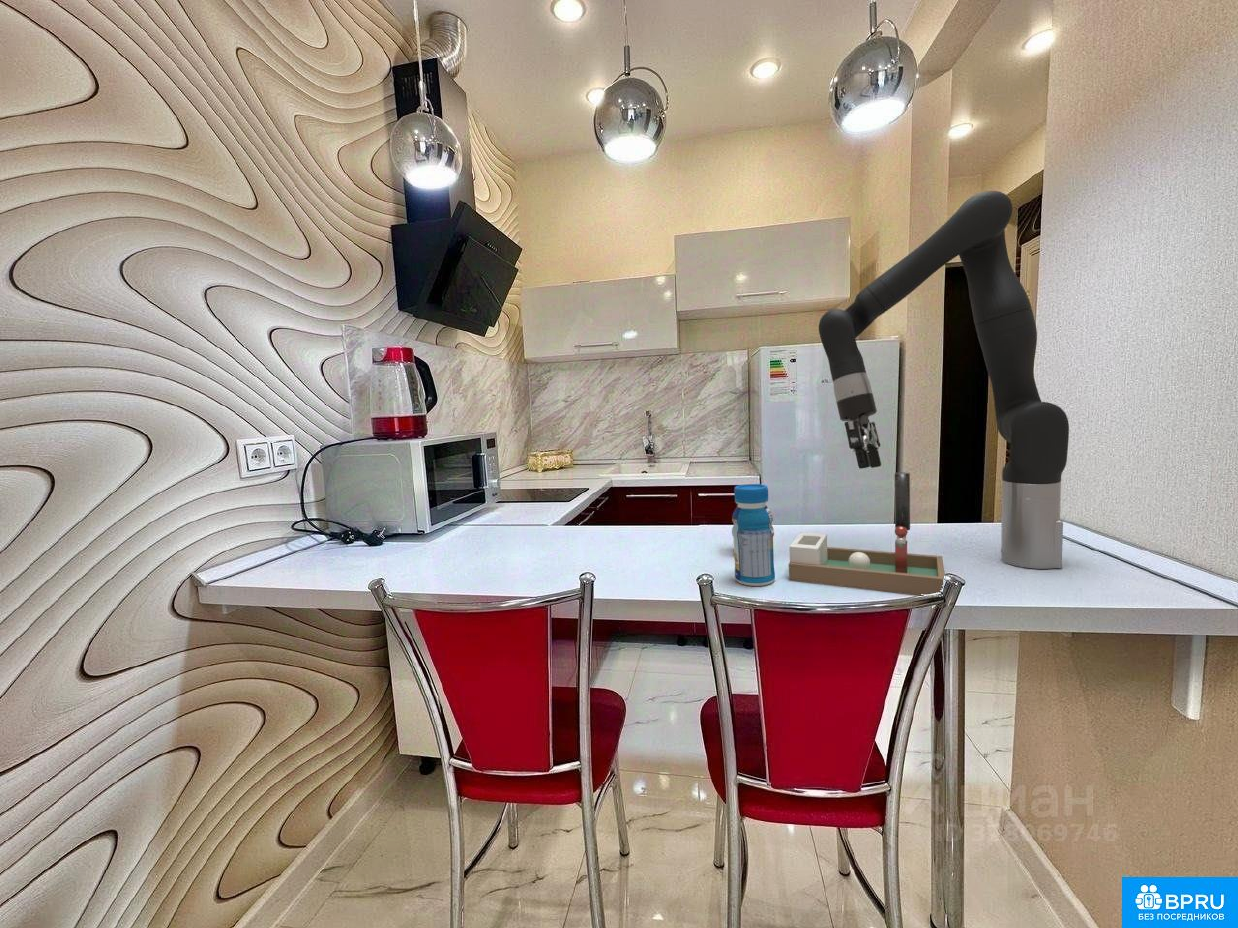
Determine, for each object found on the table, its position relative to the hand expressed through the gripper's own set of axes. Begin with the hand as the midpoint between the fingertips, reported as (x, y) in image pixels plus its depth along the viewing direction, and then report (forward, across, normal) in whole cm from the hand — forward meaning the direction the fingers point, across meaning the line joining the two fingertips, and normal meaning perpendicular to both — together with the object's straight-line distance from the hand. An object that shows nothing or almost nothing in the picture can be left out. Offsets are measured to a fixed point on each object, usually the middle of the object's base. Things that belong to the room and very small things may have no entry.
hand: (870, 467), depth 108 cm
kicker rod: (+21, -3, -2) cm, 22 cm away
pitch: (+22, -9, +3) cm, 24 cm away
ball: (+19, -10, +4) cm, 22 cm away
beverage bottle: (+19, -22, +21) cm, 36 cm away
